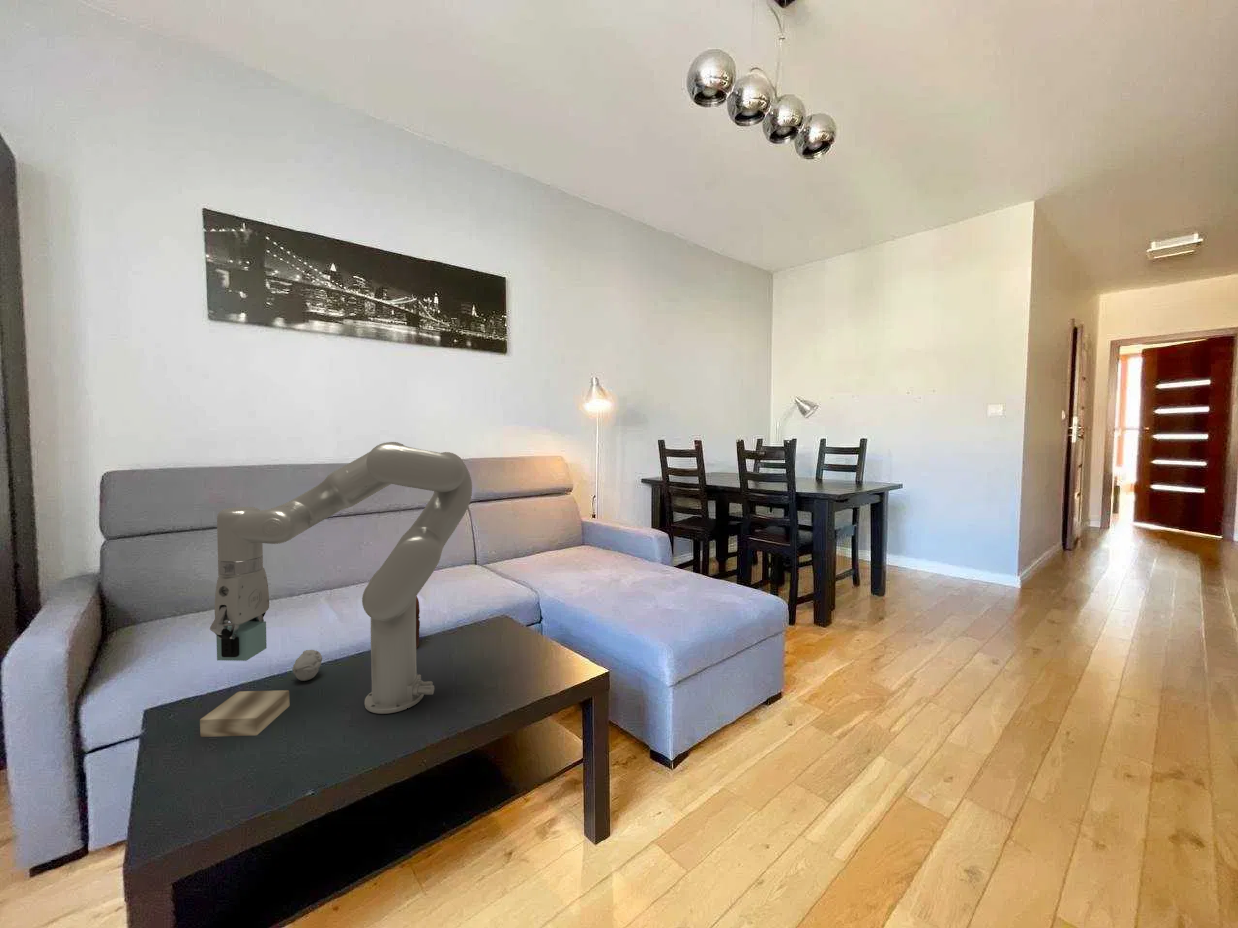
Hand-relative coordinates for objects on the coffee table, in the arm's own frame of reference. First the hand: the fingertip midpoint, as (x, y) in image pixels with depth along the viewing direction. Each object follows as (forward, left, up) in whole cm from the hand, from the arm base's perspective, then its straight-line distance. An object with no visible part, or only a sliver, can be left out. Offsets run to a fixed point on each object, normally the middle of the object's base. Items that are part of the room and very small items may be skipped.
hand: (242, 648), depth 105 cm
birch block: (0, 0, -16) cm, 16 cm away
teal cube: (0, 0, -1) cm, 1 cm away
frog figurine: (-2, -18, -16) cm, 24 cm away
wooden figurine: (-18, -38, -16) cm, 45 cm away
